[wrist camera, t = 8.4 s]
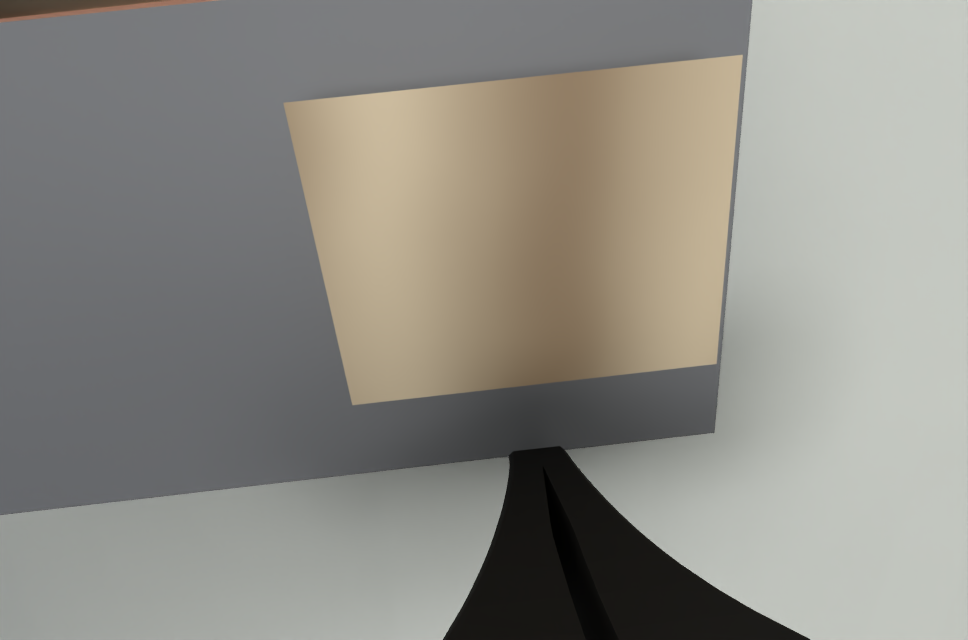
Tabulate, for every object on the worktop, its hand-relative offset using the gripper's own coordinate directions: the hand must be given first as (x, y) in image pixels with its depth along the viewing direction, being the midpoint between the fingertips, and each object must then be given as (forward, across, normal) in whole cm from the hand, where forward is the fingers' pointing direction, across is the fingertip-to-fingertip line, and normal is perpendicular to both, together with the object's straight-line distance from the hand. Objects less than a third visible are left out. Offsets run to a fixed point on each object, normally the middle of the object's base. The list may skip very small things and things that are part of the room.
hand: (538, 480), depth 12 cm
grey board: (+3, +5, -6) cm, 8 cm away
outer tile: (+1, 0, -6) cm, 6 cm away
